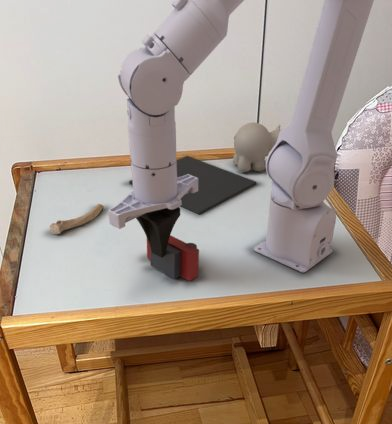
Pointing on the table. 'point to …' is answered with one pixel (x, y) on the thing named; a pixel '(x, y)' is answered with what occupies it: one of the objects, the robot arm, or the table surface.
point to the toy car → (177, 259)
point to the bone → (75, 221)
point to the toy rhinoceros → (253, 146)
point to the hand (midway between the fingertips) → (158, 254)
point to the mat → (209, 184)
